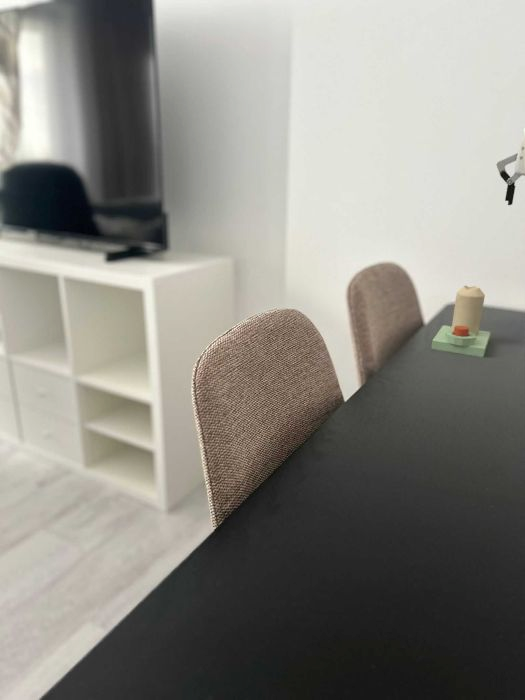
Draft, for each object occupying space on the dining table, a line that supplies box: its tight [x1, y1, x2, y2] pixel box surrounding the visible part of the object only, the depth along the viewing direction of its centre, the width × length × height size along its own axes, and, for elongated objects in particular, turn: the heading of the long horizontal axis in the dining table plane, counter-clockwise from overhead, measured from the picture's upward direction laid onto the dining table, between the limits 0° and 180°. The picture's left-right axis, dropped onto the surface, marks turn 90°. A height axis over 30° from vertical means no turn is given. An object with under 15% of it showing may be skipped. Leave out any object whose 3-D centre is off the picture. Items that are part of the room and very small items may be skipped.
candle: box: [451, 285, 486, 335], centre depth 109 cm, size 6×6×10 cm
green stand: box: [431, 324, 491, 358], centre depth 108 cm, size 10×14×4 cm
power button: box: [453, 326, 469, 337], centre depth 104 cm, size 3×3×2 cm
